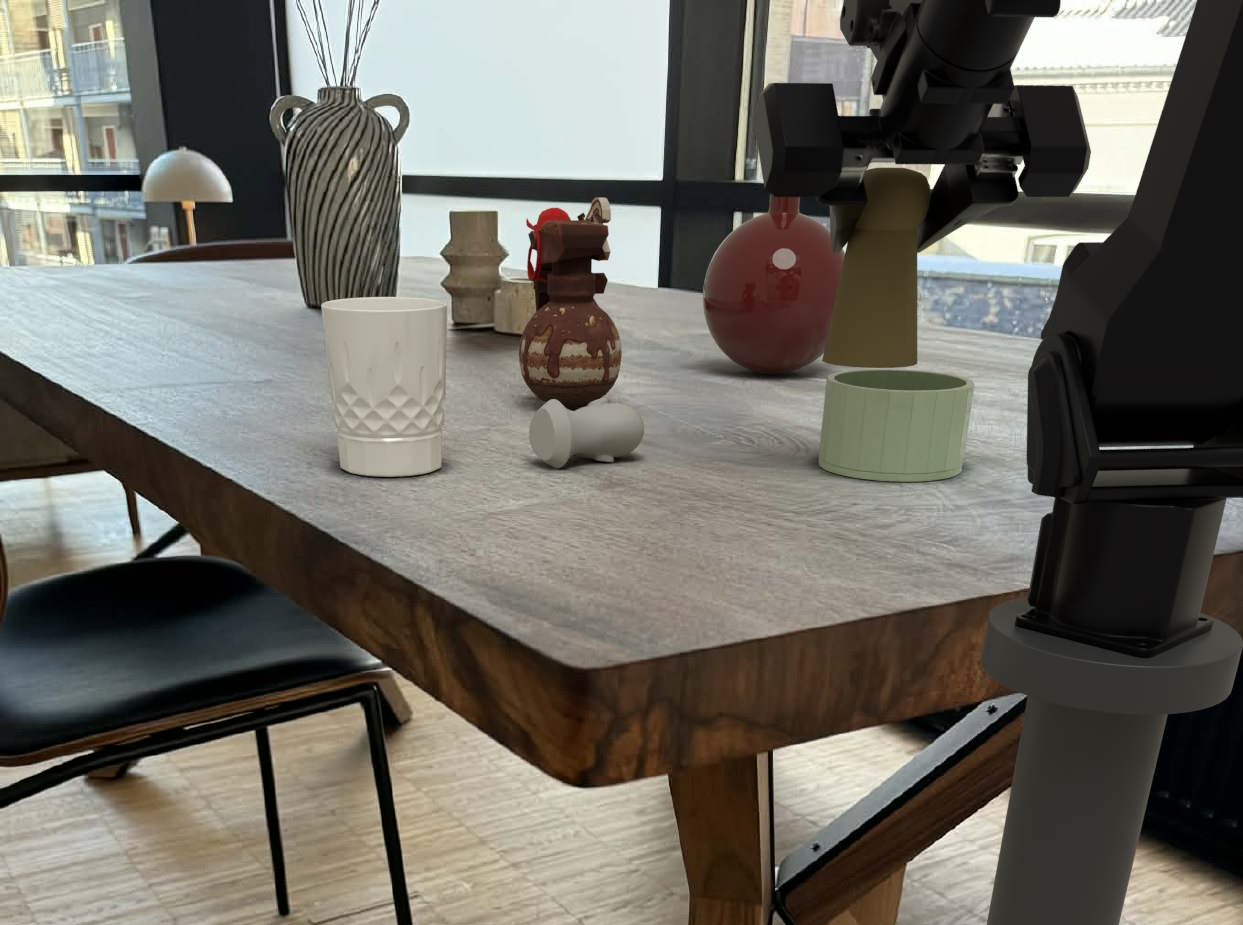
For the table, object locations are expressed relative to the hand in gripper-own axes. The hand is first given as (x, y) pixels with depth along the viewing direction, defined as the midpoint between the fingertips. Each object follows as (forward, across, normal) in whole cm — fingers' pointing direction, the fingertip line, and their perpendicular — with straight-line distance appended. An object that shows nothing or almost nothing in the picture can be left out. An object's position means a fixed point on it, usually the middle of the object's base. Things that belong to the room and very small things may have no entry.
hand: (875, 246), depth 91 cm
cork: (+4, 0, +6) cm, 7 cm away
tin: (+9, -2, +10) cm, 14 cm away
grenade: (+27, +16, -8) cm, 32 cm away
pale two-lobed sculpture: (+12, +18, +7) cm, 23 cm away
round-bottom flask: (+37, -5, -19) cm, 42 cm away
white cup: (+11, +31, +8) cm, 34 cm away
